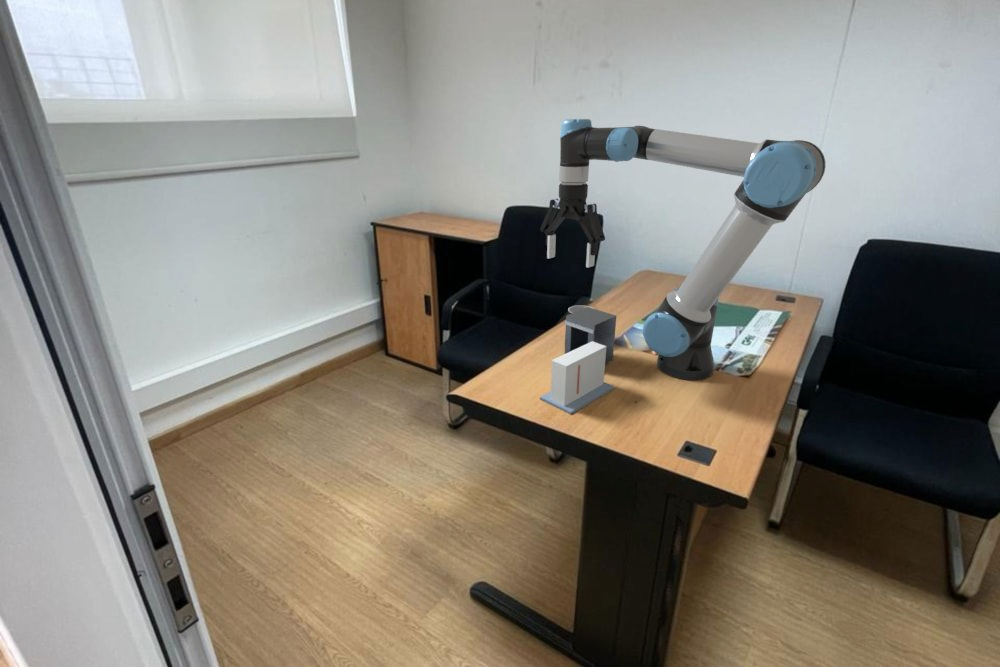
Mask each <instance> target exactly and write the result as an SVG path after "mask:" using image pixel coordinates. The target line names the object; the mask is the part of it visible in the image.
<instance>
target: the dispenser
mask: <svg viewBox="0 0 1000 667" xmlns="http://www.w3.org/2000/svg"><path fill="white" fill-rule="evenodd" d="M593 308H594V307H592V308H589V307H587V308H584V309H582V310H579V311H577V312H574V313H572V314H569V315H568V314H567V315H565V320H564V325H565V334H564V335H565V336H564V354H566V353H568V352H570V351H573V350H575V349H577V348H579V347H581V346H583V345H585V344H587V343H590V342H592V341H593V342H596V343H599V344H601V345H604V346H606V358H605V365H606V364H608V363H610V362H612V361H613V359H614V349H615V348H614V347H615V339H616V338H615V336H616V326H617V324H616V323H617V315H615V314H612V313H609V312H606V311H602V310H599V309H596V308H594V309H593Z"/></svg>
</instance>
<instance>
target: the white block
mask: <svg viewBox="0 0 1000 667" xmlns="http://www.w3.org/2000/svg"><path fill="white" fill-rule="evenodd" d="M605 358H606V346H604V345H601V344H599V343H596V342H593V341H592V342H590V343H587V344H585V345H583V346H581V347H579V348H577V349H575V350H573V351H570V352H568V353H566V354H565V353H563V354H562V355H560V356H558V357H555V358H554V359H551V370H550V371H551V376H550V378H551V379H550V391H551V400H552V401H554V402H556V403H558V404H561V405H563V406H566V405H568V404H569V403H571V402H573V401H575V400H576V399H578V398H580V397H582V396H583V395H585V394H587V393H589V392H590V391H592V390H594V389H596V388H597V387H599V386H601V385H603V383H604V382H605V368H606V364H605Z"/></svg>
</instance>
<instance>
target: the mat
mask: <svg viewBox="0 0 1000 667" xmlns="http://www.w3.org/2000/svg"><path fill="white" fill-rule="evenodd" d="M614 389H615V386H614V385H613V384H610V383H608V382H605V381H604V383H603V385H601V386H599V387H597V388H596V389H594V390H592V391H590V392H589V393H587V394H585V395H583V396H582V397H580V398H578V399H576V400H575V401H573V402H571V403H569V404H568V405H566V406H563V405H561V404H558V403H556V402H554V401H552V400H551V390H550V391H548V392H547V393H545V394H543V395H541V396H539V400H541V401H543V402H545V403H547V404H549V405H551V406H553V407H555V408H557V409H559V410H561V411H564V412H566V413H567V414H569V415H572V414H573V413H575V412H577V411H579V410H580V409H582V408H584V407H586V406H587V405H590V403H592V402H594V401H596V400H597V399H599V398H601V397H602V396H604V395H606V394H607V393H609V392H610V391H611V392H612V390H614Z"/></svg>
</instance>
